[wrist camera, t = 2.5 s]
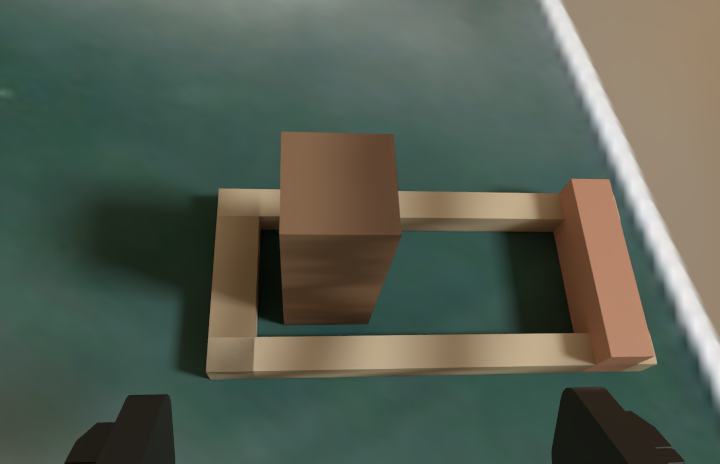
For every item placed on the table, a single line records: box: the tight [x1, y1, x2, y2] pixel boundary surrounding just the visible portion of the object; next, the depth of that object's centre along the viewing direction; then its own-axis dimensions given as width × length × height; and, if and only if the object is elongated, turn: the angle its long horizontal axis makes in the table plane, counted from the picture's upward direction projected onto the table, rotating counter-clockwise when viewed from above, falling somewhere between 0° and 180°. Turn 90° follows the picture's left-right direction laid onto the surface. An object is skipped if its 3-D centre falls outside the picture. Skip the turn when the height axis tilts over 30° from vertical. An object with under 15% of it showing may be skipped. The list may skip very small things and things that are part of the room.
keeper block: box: [279, 132, 402, 325], centre depth 25 cm, size 4×4×10 cm
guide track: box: [206, 179, 657, 379], centre depth 28 cm, size 20×9×3 cm, turn 92°
